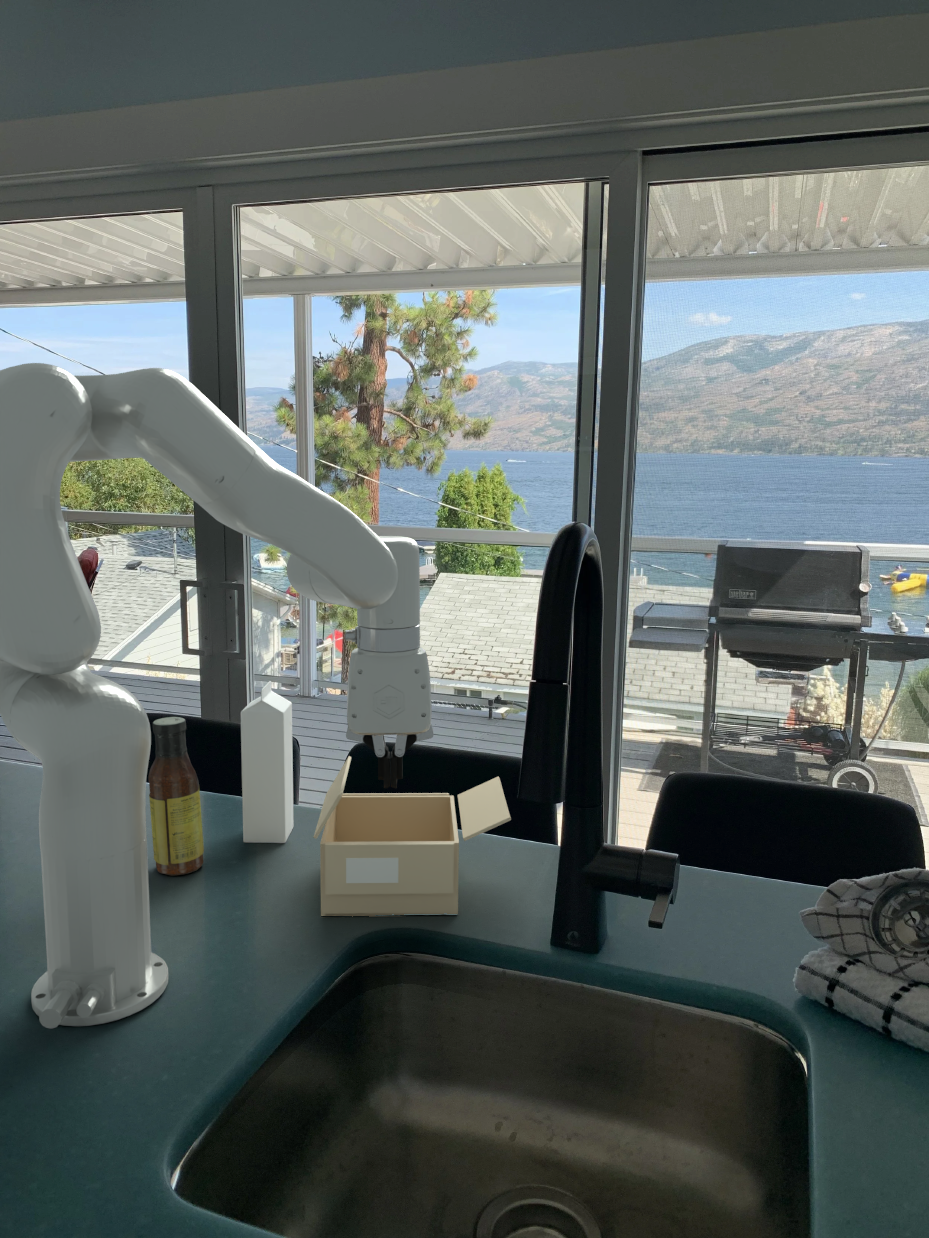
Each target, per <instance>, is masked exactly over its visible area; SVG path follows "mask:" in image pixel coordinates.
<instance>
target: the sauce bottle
mask: <svg viewBox="0 0 929 1238" xmlns="http://www.w3.org/2000/svg"><path fill="white" fill-rule="evenodd" d="M186 721H187V720H186V719H185V718H183V717H179V716H169V717H168V716H167V717H162V718H158V719H155V720H154V721H153V722H152V732H153V734H154V741H155V743H154V744H155V751H154V752H155V758H154V761H153V763H152V764H151V767H150V769H149V773H148V783H149V784H148V786H149V794H148V797H149V808H150V811H149V813H150V823H151V835H152V836H151V837H152V838H151V839H152V848H153V849H152V850H153V860H154V861H155V867H156V870H157V872H158V873H159V874H162V875H163V874H164V875H167V876H171V877H172V876H183V875H187V874H191V873H193V872H195V871H197V870H199V869H200V868H201V867H202V866H203V864H204V851H205V847H204V833H203V821H202V819H203V818H202V804H201V793H200V791H201V790H200V784H199V783H200V781H199V778H198V775H197V773H196V770H195V768H194V766H193V765H192V763H191V759H190V757H189V754H188V747H187V738H186V731H187V723H186Z"/></svg>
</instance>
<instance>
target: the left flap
mask: <svg viewBox="0 0 929 1238" xmlns="http://www.w3.org/2000/svg"><path fill="white" fill-rule="evenodd" d="M351 761H352V756H350V755H348V757H347V758H346V759H345V761H344V763H343V764H342V767H340V769H339V772H338V773H337V775H336V776H335V779H334V780H333V781H332V784H331V785H330V787H329V788H328V790H327V791H326V793H325V796H324V801H323V803H322V806H321V810H320V813H319V816H318V817H319V818H318V821H317V825H316V827H315V831H314V835H313V839H315V840H317V839H318V838H319V836H320V834H321V833H322V830H324V828H325V824H326V822H327V821H328V819H329V817H330V816H331V814H332V812H333V811H334V809H335V807H336V806H337V804H338V802H339V801H340V799H341V797H342V795H343V793H344V790H345V786H346V781H347V777H348V773H349V771H350V770H349V769H350V765H351Z"/></svg>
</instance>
